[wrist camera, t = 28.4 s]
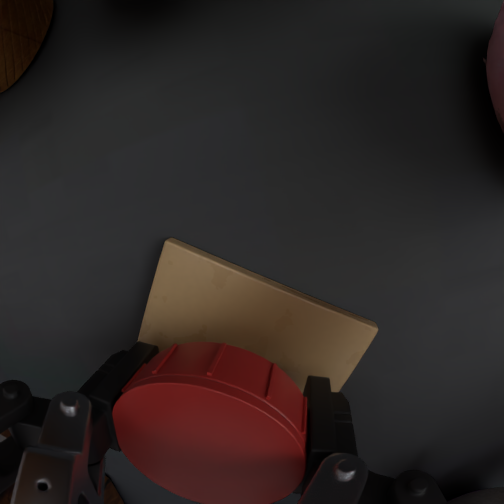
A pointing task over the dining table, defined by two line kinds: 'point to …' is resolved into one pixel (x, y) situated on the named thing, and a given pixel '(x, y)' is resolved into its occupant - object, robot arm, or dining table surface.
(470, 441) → the dining table surface
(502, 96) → the onion
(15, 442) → the robot arm
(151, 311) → the coaster
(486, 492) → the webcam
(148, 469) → the jar lid
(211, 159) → the dining table surface
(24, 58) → the disposable coffee cup
